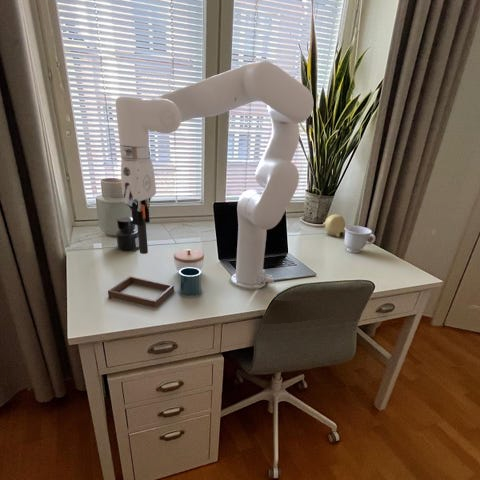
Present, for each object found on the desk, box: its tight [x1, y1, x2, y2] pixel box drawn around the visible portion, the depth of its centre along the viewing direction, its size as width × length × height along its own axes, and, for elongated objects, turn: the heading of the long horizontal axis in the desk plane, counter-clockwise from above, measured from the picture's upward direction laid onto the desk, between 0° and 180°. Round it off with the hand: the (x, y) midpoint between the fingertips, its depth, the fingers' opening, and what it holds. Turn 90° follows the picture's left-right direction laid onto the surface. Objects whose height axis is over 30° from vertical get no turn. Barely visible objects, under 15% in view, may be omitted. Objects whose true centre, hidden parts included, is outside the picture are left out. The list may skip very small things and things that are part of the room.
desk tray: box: [107, 275, 175, 309], centre depth 111 cm, size 17×12×3 cm
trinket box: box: [173, 248, 205, 273], centre depth 126 cm, size 11×11×9 cm
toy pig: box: [322, 213, 346, 238], centre depth 176 cm, size 10×12×11 cm
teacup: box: [344, 224, 376, 254], centre depth 157 cm, size 12×15×10 cm
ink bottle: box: [115, 216, 139, 252], centre depth 143 cm, size 10×9×12 cm
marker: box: [136, 204, 149, 255], centre depth 101 cm, size 2×2×14 cm
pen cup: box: [178, 267, 202, 297], centre depth 114 cm, size 7×7×8 cm
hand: (141, 222), depth 100 cm, fingers closed on marker, 2 cm apart
